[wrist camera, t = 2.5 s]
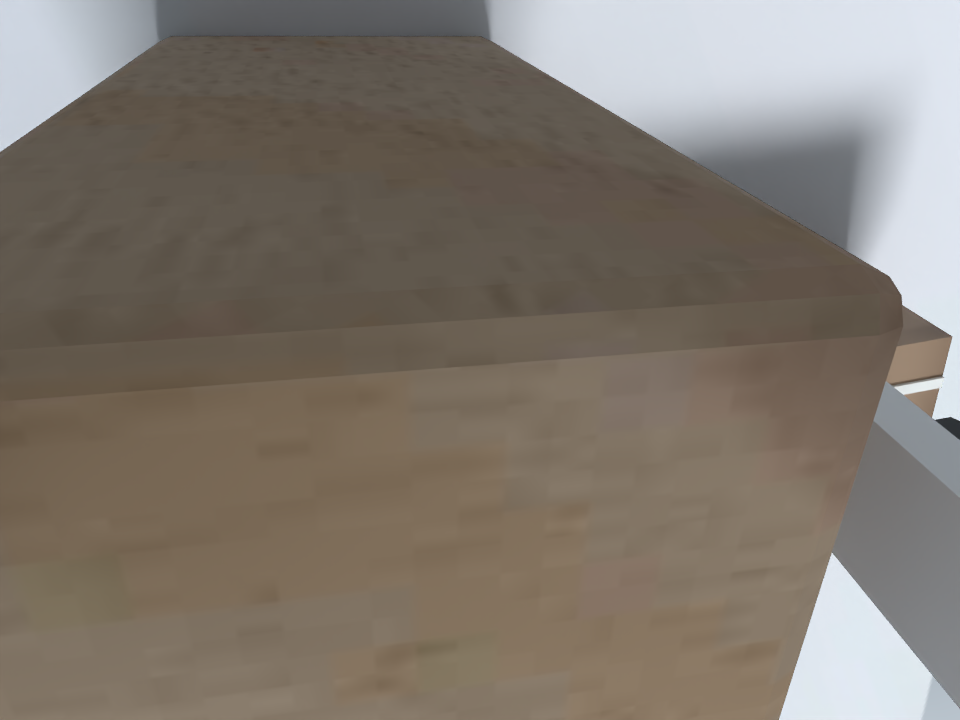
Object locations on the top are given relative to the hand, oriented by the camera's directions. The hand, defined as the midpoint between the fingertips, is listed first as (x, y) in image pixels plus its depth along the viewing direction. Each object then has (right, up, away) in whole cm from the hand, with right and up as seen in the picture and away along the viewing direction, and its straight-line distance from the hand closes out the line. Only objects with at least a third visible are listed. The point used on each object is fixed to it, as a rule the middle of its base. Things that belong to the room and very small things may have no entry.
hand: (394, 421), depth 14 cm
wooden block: (-3, +7, +12) cm, 14 cm away
